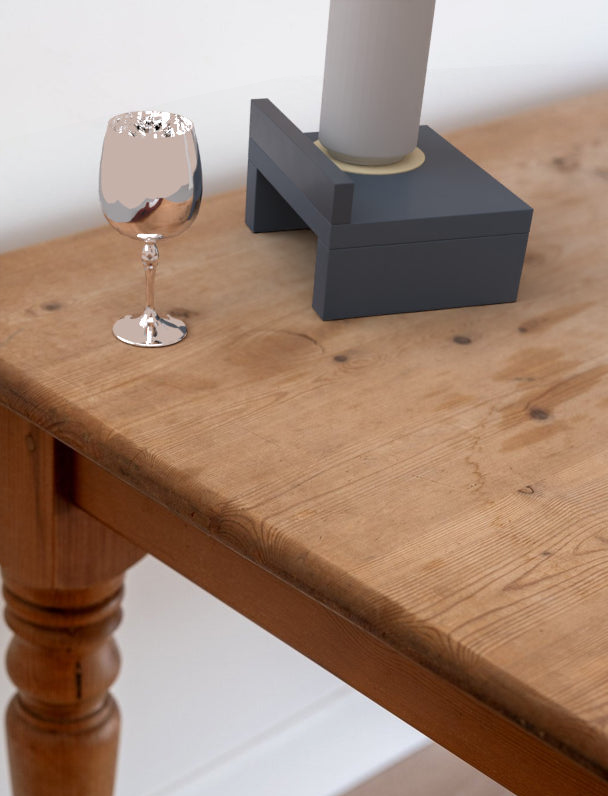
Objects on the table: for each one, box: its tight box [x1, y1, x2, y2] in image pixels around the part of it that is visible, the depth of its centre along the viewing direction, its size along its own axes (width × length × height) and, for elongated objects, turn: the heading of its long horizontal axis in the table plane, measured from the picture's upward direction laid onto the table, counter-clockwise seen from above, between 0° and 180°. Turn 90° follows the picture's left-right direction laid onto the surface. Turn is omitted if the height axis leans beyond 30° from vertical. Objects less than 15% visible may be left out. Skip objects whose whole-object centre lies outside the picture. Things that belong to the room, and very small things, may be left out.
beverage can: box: [318, 0, 437, 166], centre depth 81 cm, size 6×6×12 cm
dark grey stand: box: [244, 97, 535, 321], centre depth 84 cm, size 13×16×8 cm
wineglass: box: [97, 110, 204, 348], centre depth 73 cm, size 6×6×12 cm
